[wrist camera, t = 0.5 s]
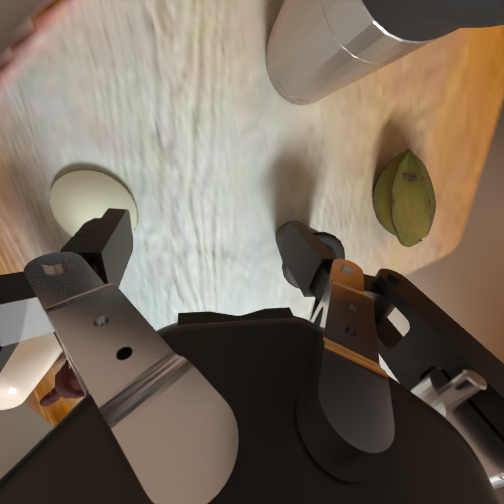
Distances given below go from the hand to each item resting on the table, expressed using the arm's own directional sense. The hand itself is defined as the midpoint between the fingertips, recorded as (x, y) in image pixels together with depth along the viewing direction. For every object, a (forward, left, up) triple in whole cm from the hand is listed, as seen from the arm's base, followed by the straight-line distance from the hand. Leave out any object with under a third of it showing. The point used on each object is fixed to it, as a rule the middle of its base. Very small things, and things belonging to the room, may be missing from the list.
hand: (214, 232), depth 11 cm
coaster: (+10, -13, -20) cm, 26 cm away
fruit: (-9, +26, -21) cm, 34 cm away
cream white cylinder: (+23, -12, -13) cm, 29 cm away
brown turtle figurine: (+38, -9, -21) cm, 44 cm away
